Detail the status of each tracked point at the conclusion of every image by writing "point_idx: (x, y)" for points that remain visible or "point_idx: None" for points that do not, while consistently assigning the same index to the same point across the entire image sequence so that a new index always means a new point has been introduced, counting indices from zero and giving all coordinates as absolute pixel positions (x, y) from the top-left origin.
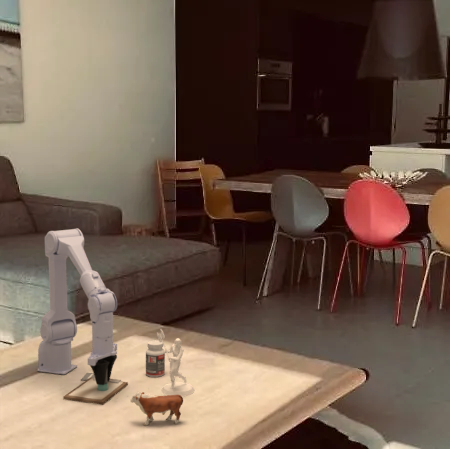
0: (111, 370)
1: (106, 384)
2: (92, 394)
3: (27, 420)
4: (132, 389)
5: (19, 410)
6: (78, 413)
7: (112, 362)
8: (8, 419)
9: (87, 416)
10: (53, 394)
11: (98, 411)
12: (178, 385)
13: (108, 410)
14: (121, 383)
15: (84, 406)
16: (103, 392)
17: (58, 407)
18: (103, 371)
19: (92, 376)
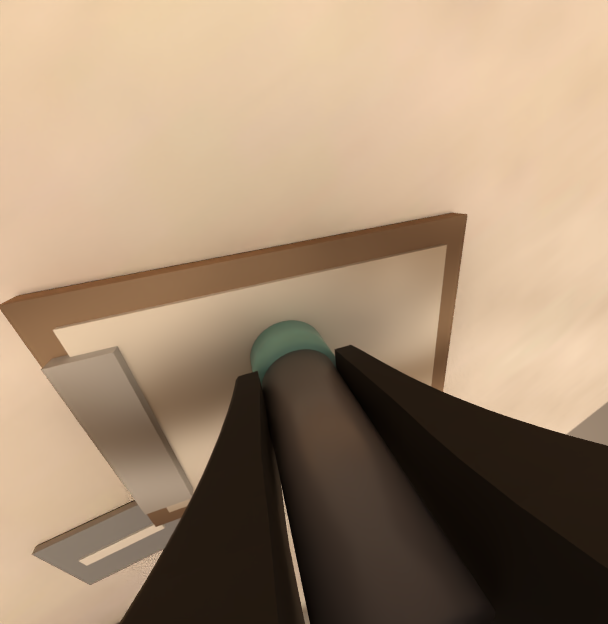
0: (221, 449)
1: (310, 342)
2: (389, 342)
3: (603, 366)
4: (72, 188)
5: None
6: (559, 259)
7: (277, 603)
8: (591, 408)
9: (593, 193)
10: None
11: (537, 177)
12: None
13: (522, 121)
14: (90, 324)
15: (483, 291)
16: (335, 313)
17: (504, 370)
18: (501, 421)
19: (115, 537)
